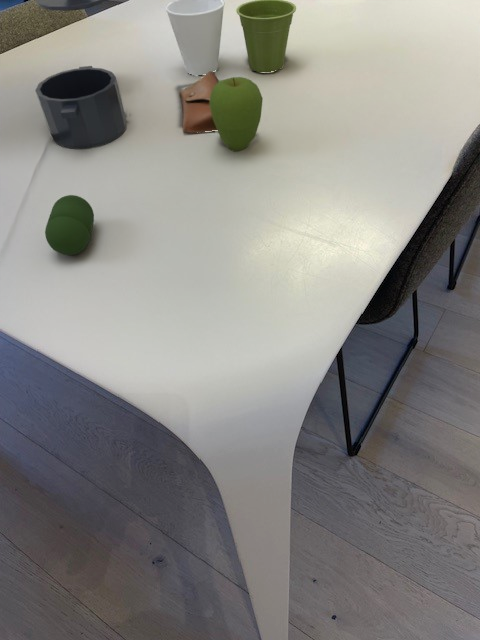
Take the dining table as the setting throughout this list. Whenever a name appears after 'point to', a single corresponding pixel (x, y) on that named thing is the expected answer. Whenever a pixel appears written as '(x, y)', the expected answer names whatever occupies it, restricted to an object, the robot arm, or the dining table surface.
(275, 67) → the plant pot
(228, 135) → the apple
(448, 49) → the dining table surface
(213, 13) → the cup
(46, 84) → the pot
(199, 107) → the sunglasses case
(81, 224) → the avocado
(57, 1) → the lid
